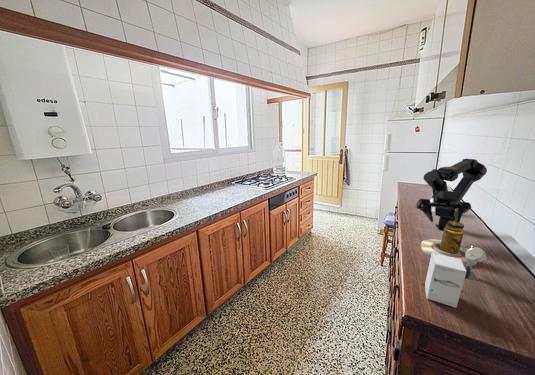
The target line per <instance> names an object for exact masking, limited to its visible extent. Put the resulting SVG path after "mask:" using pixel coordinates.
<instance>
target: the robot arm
mask: <svg viewBox="0 0 535 375" xmlns="http://www.w3.org/2000/svg"><path fill="white" fill-rule="evenodd" d="M487 171H488V169H487V167H486V166H485V164H483V163H480V162H479V161H478V160H477V159H475V158H474V159H473V158H463V159H462V160H461V161H458V162H457V163H455V164H452V165H451V166H442V167H439V168H438V169H435V168H433V169H432V170H431V171H430V170H429V171H427V172H426V173H425V174H424V175H423V178H422V179H423V180H424V181H425V183H426V184H427V185H428V186H429V187H430V188H431V193H432V194H433V196H432V195H431V199H432V198H433V201H434V202H430V200H431V199H429V198H419V199H418V200H417V202H416V203H415V207H416V209H418V210H420V212H422V213H423V214H424V215H425V216H426V217H427V219H428V220H429V221H430V223H433V222H434V218H433V213H432V212H433V211H432V208H433V207H436V208H435V212H434V213H435V214H434V215H435V216H437V217H439V219H438V223H437V224H436V223H435V227H436V228H437V229H438V231H444V228H445V227H446V225H447V222H448V221H455V222H459V223H461V218H462V216H463V214H465V213H467V212H469V211H470V209H472V205H471V203H470V202H467V201H466V202H465V201H462V200H463V198H464V196H465V195H466V193H467V192H468V191H469V190H470V189H471V186H472V185H473V183H476V182H478V181H480V180H481V179H482V178H483V177H484V176H486V174H487ZM460 174H462V178H461V179H460V181H459V182H458V184H457V185H456V186H455V188H454V189H453V190H452V191H451V190H450V191H449V189H448V183H447V182H454V181H456V180H457V179H458V178H459V175H460ZM446 181H447V182H446Z"/></svg>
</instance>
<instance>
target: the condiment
mask: <svg viewBox="0 0 535 375" xmlns="http://www.w3.org/2000/svg"><path fill="white" fill-rule="evenodd" d="M464 225H465V224H463V223H462V222H455V221H448V222H447V225H446V227H445V228H444V230H442V236H441V239H440V240H441V244H437V243H433V246H434V250H435V251H439V252H444V253H448V254H452V255H457V256H461V254H460V252H459V250H460V246H462V241H463V238H464V228H465V226H464ZM439 249H440V250H439ZM441 250H442V251H441Z"/></svg>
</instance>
